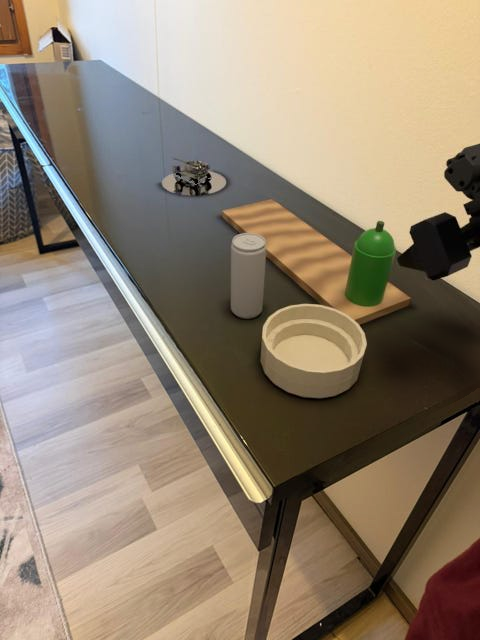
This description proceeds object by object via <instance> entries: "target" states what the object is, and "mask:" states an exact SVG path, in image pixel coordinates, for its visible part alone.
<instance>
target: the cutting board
mask: <svg viewBox="0 0 480 640" xmlns="http://www.w3.org/2000/svg"><path fill="white" fill-rule="evenodd" d="M221 218H222V219H223V220H224V221H225V222H226V223H228V224H229V225H230V227H232V228H233V229H234V230H235V231H237V232H238V233H239V234H242V233H254V234H258V235H261V236H262V237H263V238H264V239H265V241H266V258H267V259H268V260H270V261H271V262H272V263H273V264H274V265H275V266H276V267H277V268H279V270H281V271H282V272H283V273H284V274H285V275H287V276H288V277H289V279H291V280H292V281H293V282H295V283H296V284H297V285H298V286H299V288H301V289H303V291H304V292H306V293H307V294H308V295H309V296H310V297H311V298H313V299H314V300H315V301H316V302H317V304H318V305H323V306H327V307H331V308H334V309H336V310H339V311H341V312H343V313H345V314H347V315H348V316H350V317H351V318H352V319H353V320H354V321H356V322H357V323H358V324H359V326H360V325H364V324H366V323H368V322H371V321H374V320H376V319H378V318H381V317H383V316H386V315H388V314H391V313H394V312H396V311H399V310H402V309H404V308H406V307H409V305H410V302H411V297H410V296H408V295H407V294H406V293H404V292H403V291H402V290H400V289H399V288H397V286H395V285H393V284H392V283H391V282H389V281H388V283H387V286H386V290H385V294H384V297H383V301H382V302H381V303H380V304H378V305H376V306H371V307H365V306H360V305H357V304H354V303H352V302H351V301H349V300H348V299H347V298H346V296H345V289H346V284H347V279H348V274H349V269H350V264H351V259H352V254H350V253H348V252H346V251H345V250H344V249H343V248H341V247H340V246H338V245H337V244H336V243H335V242H333V241H331V240H330V239H329V238H327V237H326V236H325V235H323V234H321V233H320V232H319V231H318V230H316V229H315V228H314V227H312V226H310V225H309V224H307V223H306V222H305V221H303V220H302V219H301V218H299V217H297V215H295V214H294V213H292V212H291V211H289V210H288V209H287V208H285V207H283V206H282V205H281V204H280V203H278V202H277V201H276V200H274V199H272V198H271V199H266V200H262V201H257V202H253V203H248V204H245V205H241V206H236V207H232V208H227V209H222V210H221Z"/></svg>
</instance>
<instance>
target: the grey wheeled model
mask: <svg viewBox="0 0 480 640" xmlns="http://www.w3.org/2000/svg"><path fill="white" fill-rule="evenodd" d="M172 160H175V161H178V162H181V163H183V164H184V165H183V166H181V165H180V164H178V163H174V164H172V168H170V170H171V172H172V173H171V174H168V175H166V176H165V177H164V178H163V179H162V180H161V185H162V187H163V188H164V189H165V190H167V191H168V192H170V193H173V194H177V195H180V196H188V197H189V196H205V195H210V194H214V193H216V192H219V191H221V190H222V189H224V188H225V187H226V185H227V180H226V178H225V177H224V176H222V175H221V174H220V173H217V172H214V171H210V170H211V167H210V166H211V165H210V163H205V162H204V161H202V160H199V159H198V158H196V161H194V160H184V159H180V158H178V157H175V156H174V157H172ZM176 172H177V173H176ZM173 173H176V175H178V176H180V177H181V176H182V177H183V178H185V179H188V180H189V179H190V178H191V179H190V180H189V181H193V182H194V183H195V184H197V183H199V184H197V185H195V184H194V183H189V182H188V181H185V180H183V179H180V178H178V177H174V175H173ZM205 176H207V178H205ZM210 177H212V178H211V179H208V178H210ZM198 178H199V179H198ZM203 179H205V180H204V181H201V180H203ZM199 180H200V181H201V182H200V181H199ZM198 181H199V182H198Z"/></svg>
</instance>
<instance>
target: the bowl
mask: <svg viewBox="0 0 480 640" xmlns="http://www.w3.org/2000/svg"><path fill="white" fill-rule="evenodd" d="M367 346H368V343H367V338H366V333H365V332H364V330H363V328H362V327H361V326H360V325H359V324H358V323H357V322H356V321H354V320H353V319H352V318H351V317H350V316H348V315H347V314H345V313H343V312H341V311H339V310H336V309H334V308H331V307H327V306H323V305H321V304H318V303H317V304H315V303H313V304H312V303H300V304H292V305H288V306H286V307H282V308H280V309H278V310H276V311H274V312H273V313H272V314H271V315H270V316H268V317H267V319H266V321H265V322H264V323H263V326H262V334H261V346H260V347H261V349H260V364H261V367H262V370H263V372H264V374H265V375H266V377H267V378H268V379H269V380H270V382H272V384H274V385H275V386H277V387H278V388H280V389H282V390H283V391H285V392H287V393H289V394H292V395H294V396H298V397H301V398H311V399H324V398H330V397H336V396H338V395H340V394H342V393H344V392H346V391H348V390H350V388H351V387H352V386H353V385H354V384H355V383H356V382H357V381H358V378H359V375H360V372H361V368H362V365H363V361H364V357H365V353H366V350H367Z"/></svg>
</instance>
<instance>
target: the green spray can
mask: <svg viewBox="0 0 480 640" xmlns="http://www.w3.org/2000/svg"><path fill="white" fill-rule="evenodd" d="M384 227H385V222H384V221H383V220H378V221H376V225H375V227H372V228H368V229H366V230H365V231H364V232H363V233H361V234H360V236H359V237H358V238H357V240H355V241H354V243H353V249H352V254H351V256H352V259H351V264H350V269H349V274H348V279H347V284H346V289H345V296H346V298H347V299H348V300H349V301H351V302H352V303H354V304H357V305H360V306H365V307H371V306H376V305H378V304H380V303H381V302H382V301H383V297H384V294H385V290H386V286H387V283H388V282H389V279H390V275H391V271H392V267H393V264H394V260H395V256H396V252H397V248H396V246H395V240H394V237H393V236H392V234H391V232H389V231H387V230H385V229H384Z"/></svg>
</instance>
